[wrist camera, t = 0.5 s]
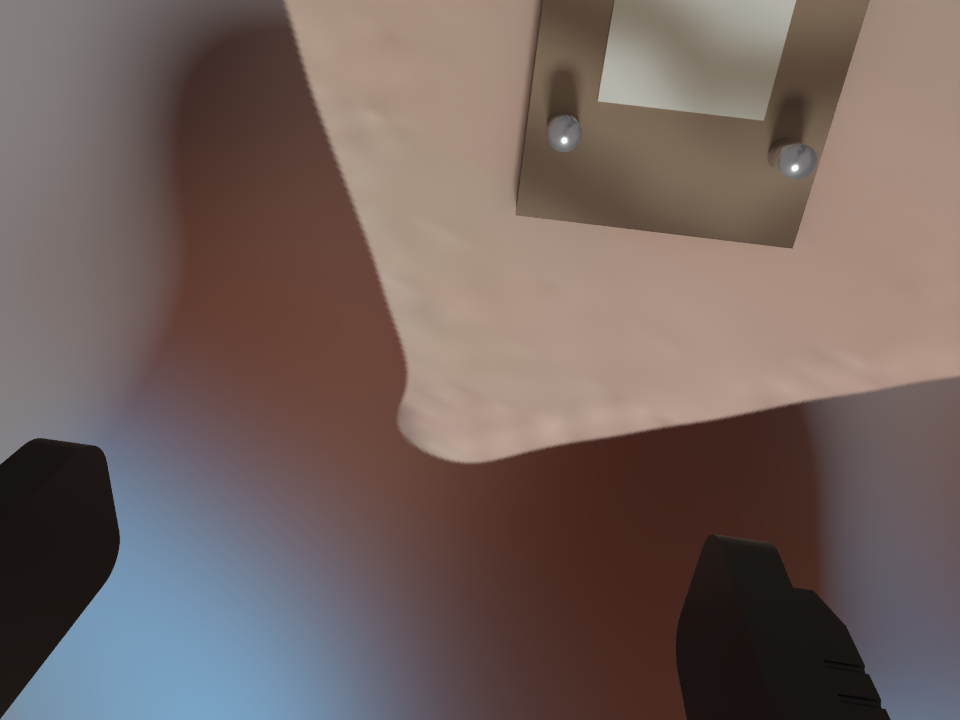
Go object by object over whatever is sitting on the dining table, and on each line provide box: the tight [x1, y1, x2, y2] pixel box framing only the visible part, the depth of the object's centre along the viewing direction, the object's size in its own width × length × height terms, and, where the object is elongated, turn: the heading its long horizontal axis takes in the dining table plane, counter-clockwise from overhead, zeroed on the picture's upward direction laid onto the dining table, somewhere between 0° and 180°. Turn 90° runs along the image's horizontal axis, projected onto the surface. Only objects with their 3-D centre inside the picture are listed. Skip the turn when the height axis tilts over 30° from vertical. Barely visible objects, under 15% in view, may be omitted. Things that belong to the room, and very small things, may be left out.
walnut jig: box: [516, 0, 869, 248], centre depth 29 cm, size 16×13×3 cm
